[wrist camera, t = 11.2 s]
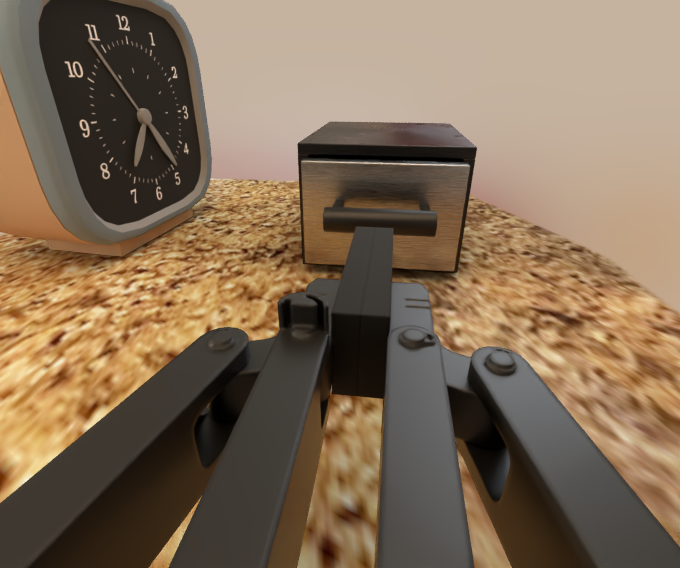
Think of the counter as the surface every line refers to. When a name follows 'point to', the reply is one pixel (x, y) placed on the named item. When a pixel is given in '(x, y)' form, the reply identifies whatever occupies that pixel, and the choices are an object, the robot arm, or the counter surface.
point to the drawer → (384, 207)
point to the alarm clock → (99, 123)
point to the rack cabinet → (389, 150)
